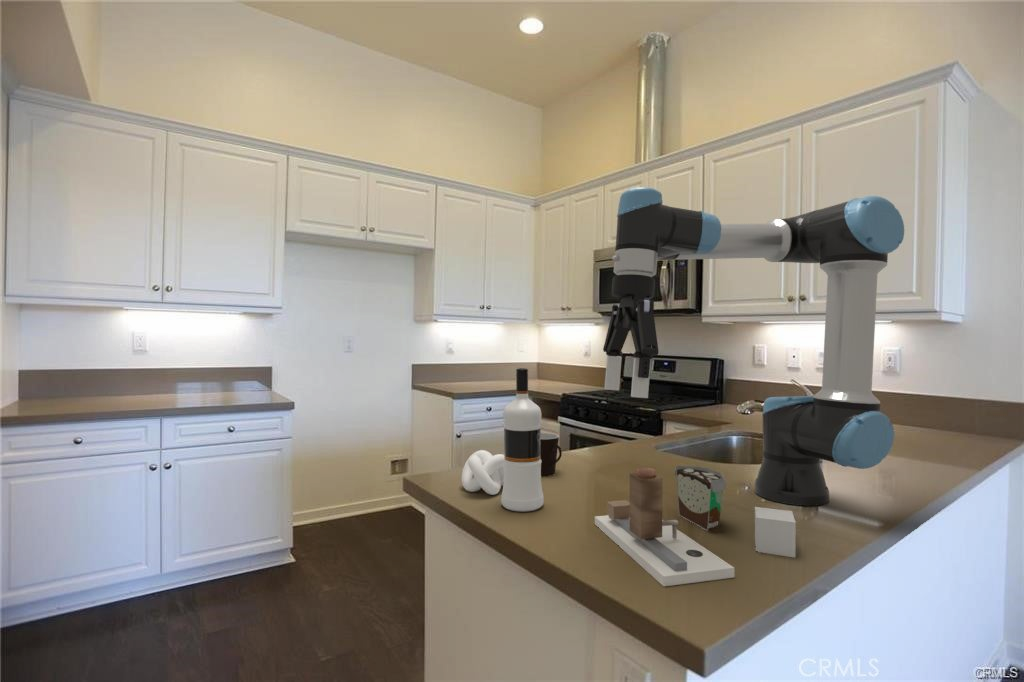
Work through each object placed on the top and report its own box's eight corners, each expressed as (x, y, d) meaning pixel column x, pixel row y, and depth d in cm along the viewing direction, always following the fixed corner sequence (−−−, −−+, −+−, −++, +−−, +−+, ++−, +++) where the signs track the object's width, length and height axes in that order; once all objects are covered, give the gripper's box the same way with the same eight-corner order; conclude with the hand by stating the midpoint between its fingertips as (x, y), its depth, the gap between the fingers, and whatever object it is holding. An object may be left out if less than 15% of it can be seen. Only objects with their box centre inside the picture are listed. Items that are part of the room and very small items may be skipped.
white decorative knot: (499, 481, 132) (499, 446, 132) (520, 494, 121) (520, 455, 121) (457, 486, 127) (457, 450, 127) (475, 500, 116) (475, 461, 116)
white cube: (791, 544, 92) (792, 511, 92) (795, 558, 86) (795, 522, 86) (754, 539, 94) (754, 506, 94) (755, 552, 89) (756, 517, 89)
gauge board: (650, 518, 104) (650, 493, 104) (734, 577, 79) (734, 544, 79) (594, 524, 102) (594, 498, 102) (663, 586, 76) (663, 552, 76)
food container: (740, 531, 98) (740, 478, 98) (713, 534, 96) (713, 481, 96) (699, 510, 110) (699, 463, 110) (674, 513, 108) (674, 465, 108)
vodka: (495, 501, 115) (495, 367, 115) (533, 497, 119) (533, 366, 118) (510, 515, 107) (509, 370, 106) (550, 509, 110) (550, 368, 110)
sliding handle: (670, 533, 92) (671, 465, 92) (683, 541, 88) (683, 470, 88) (629, 537, 90) (629, 467, 90) (640, 546, 86) (640, 473, 86)
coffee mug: (524, 469, 143) (524, 433, 143) (555, 468, 144) (555, 432, 144) (531, 481, 132) (531, 442, 131) (564, 480, 133) (564, 441, 132)
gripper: (593, 281, 105) (584, 385, 105) (641, 263, 81) (630, 399, 80) (628, 285, 106) (619, 388, 106) (686, 268, 82) (676, 402, 81)
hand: (624, 393), depth 93 cm, fingers open, 13 cm apart
